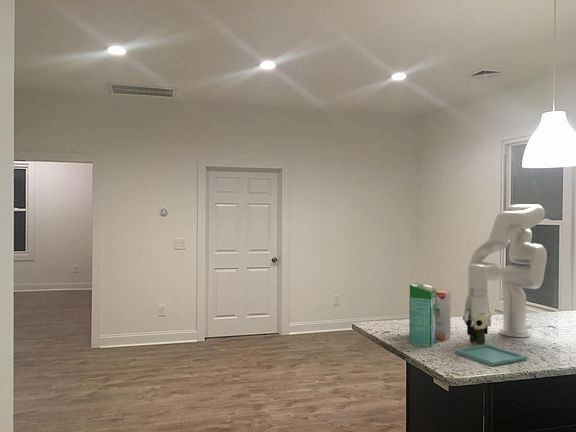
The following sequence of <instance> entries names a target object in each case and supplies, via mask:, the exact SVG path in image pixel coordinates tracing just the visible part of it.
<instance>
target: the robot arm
mask: <svg viewBox="0 0 576 432" xmlns="http://www.w3.org/2000/svg"><path fill="white" fill-rule="evenodd" d="M545 212H546V211H545V208H544V207H543V206H542V205H540V204H512V205H508V206H507V207H505V210H504V211H500V212H499V213H498V214H497V215H496V217H495V220H494V222H493V225H492V229H491V230H490V231H491V232H490V233H489V237H488V239H487V240H486V241H485V242H483V243H482V244H481V245H480V246H479V247H477V248H476V249H475V251H474V252H473V254H472V256H471V258H470V261H469V264H468V269H467V272H468V273H467V279H468V282H467V291H468V292H467V295H466V298H465V304H464V305H465V306H464V315H463V316H462V317H461V318H462V320H463V322H464V323H465V325H466V326H467V327H466V328H467V330H466V335H467V336H469V337H470V336H474V327H473V325H474V321H475V320H476V319H477V314H485V313H486V314H487V318H489V319H491V318H492V317H493V314H492V313H491V312H490V303H489V297H488V281H492V282H493V281H495V282H497V281H500V279H501V282H502V283H501V284H502V291H503V292H502V293H503V294H502V295H503V297H502V298H503V299H502V300H503V301H502V303H503V304H502V305H503V306H502V310H503V311H502V312H503V313H502V319H503V320H502V321H503V322H502V325H503V326H502V328H501V329H499V334H501V335H503V336H506V337H511V338H512V337H513V338H529V337H531V333H530V332H529V331H528V330H532V329H533V325H532V324H527V295H526V293H525V291H524V288H525V289H531V290H532V289H533V290H537V289H539V288H541V286H542V284H543V282H544V277H545V272H546V266H547V260H548V253H547V249H546V247H544V246H543V245H542V244H538V243H532V239H533V232H532V230H531V229H532V228H534V227H535V226H538V225H539V224H540V223H542V222H543V220H544V218H545V216H546V213H545ZM508 246H509V250H508V259H509V261H510V262H511V263H514V264H520V265H513V264H512V265H507V266H504V267H502V266H501V265H500V264H498V263H493V262H485V261H484V260H485V259H486V258H487V257H489V256H490V255H493V254H495V253H498V252H500V251H501V250H505V249H506V248H508ZM521 264H522V265H529V266H522V265H521ZM470 315H471V317H472V319H470ZM491 320H492V319H491ZM470 321H471V323H470ZM486 324H489V321H487V322H486ZM488 327H489V326H486V328H485V329H483V330H484V335H488Z"/></svg>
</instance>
